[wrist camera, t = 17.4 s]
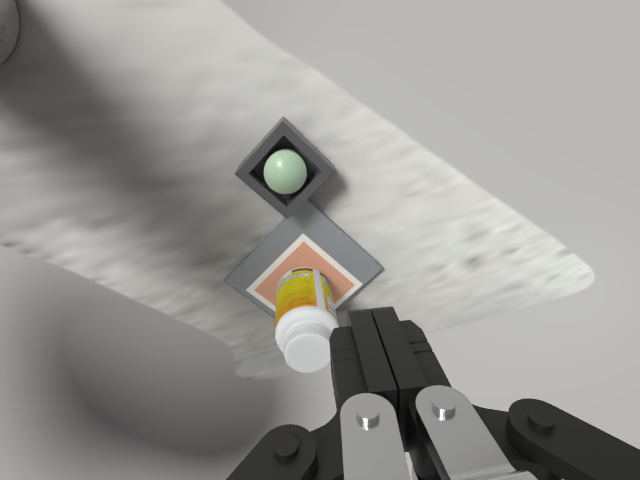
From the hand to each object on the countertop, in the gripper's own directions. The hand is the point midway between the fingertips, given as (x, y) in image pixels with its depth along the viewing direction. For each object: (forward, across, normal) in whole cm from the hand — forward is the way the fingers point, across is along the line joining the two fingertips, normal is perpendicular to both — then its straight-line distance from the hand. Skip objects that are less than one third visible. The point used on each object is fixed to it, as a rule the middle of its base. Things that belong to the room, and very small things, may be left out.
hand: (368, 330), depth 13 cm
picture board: (+25, +2, +11) cm, 27 cm away
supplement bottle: (+24, +2, +13) cm, 28 cm away
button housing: (+25, +3, 0) cm, 25 cm away
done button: (+24, +3, 0) cm, 24 cm away
